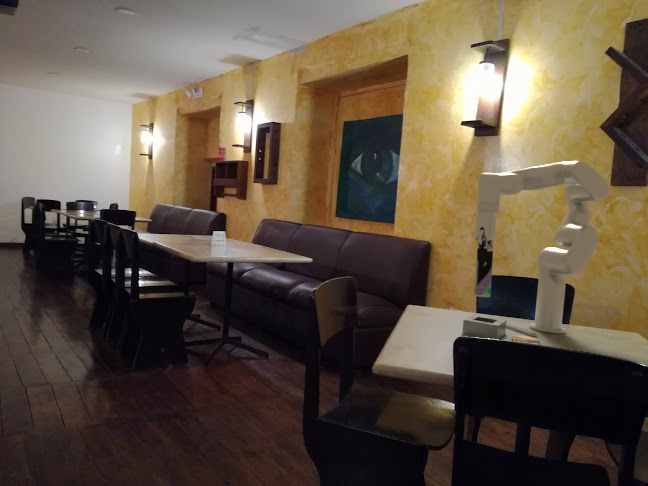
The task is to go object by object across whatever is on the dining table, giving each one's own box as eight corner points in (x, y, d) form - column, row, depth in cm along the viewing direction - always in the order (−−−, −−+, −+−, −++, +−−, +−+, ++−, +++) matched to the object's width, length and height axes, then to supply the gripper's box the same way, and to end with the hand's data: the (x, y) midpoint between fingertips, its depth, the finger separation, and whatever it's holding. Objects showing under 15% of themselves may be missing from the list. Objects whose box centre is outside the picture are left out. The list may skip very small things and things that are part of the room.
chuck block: (472, 327, 189) (473, 314, 188) (505, 333, 182) (506, 320, 182) (462, 333, 179) (463, 319, 178) (496, 340, 172) (498, 325, 172)
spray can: (481, 297, 177) (485, 241, 176) (471, 294, 182) (474, 239, 180) (493, 297, 180) (497, 241, 178) (482, 294, 185) (485, 239, 183)
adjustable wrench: (539, 338, 181) (539, 333, 181) (525, 339, 179) (525, 334, 178) (493, 321, 204) (494, 317, 204) (480, 321, 202) (481, 317, 202)
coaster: (514, 336, 179) (514, 334, 179) (541, 341, 174) (541, 339, 174) (508, 341, 171) (508, 338, 171) (536, 346, 167) (536, 344, 167)
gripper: (484, 208, 187) (481, 256, 189) (469, 207, 173) (466, 260, 175) (505, 209, 183) (502, 258, 185) (491, 208, 169) (488, 262, 171)
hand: (484, 258), depth 180 cm, fingers closed on spray can, 5 cm apart
